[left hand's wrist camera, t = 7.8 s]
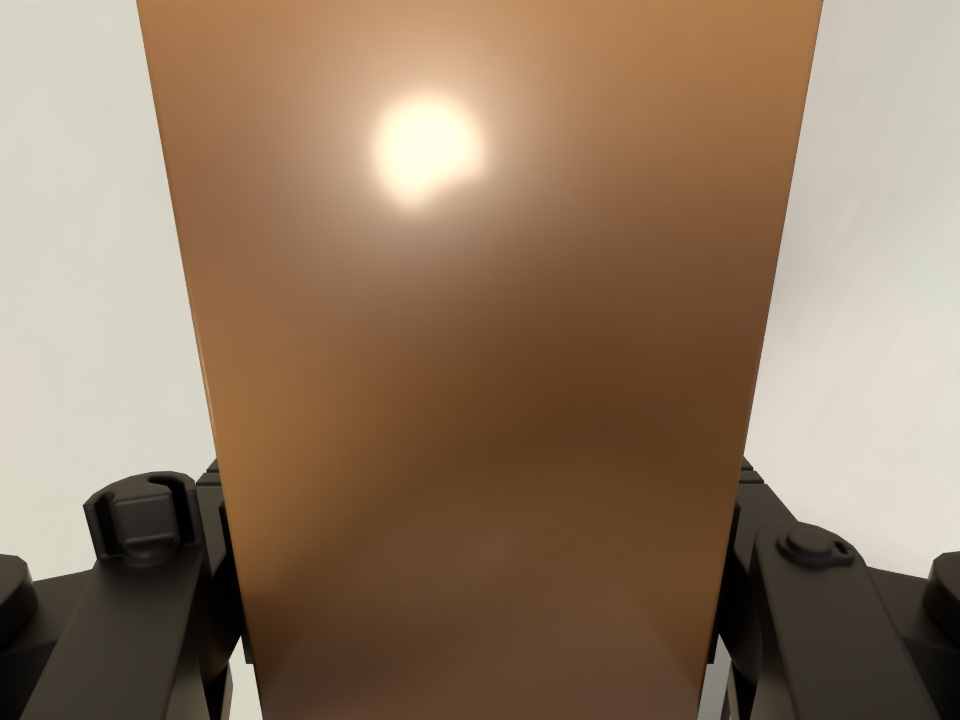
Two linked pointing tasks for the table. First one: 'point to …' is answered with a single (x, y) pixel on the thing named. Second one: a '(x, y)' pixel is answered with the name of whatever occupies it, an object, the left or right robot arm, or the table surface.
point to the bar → (479, 332)
